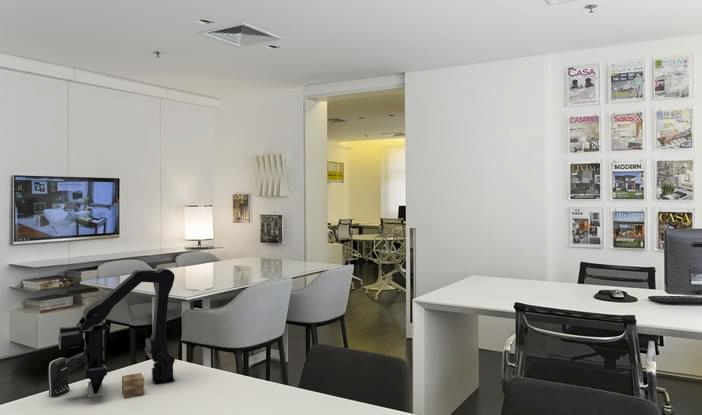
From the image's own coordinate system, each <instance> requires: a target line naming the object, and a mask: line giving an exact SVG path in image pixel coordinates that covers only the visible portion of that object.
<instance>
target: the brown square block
mask: <svg viewBox="0 0 702 415" xmlns="http://www.w3.org/2000/svg"><path fill="white" fill-rule="evenodd" d="M122 386H123V388H124V390H129V389H134V388H140V387H144V388H145V377H144V375H143V373H142V372H138V373H132V374H126V375H121V387H122Z"/></svg>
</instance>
